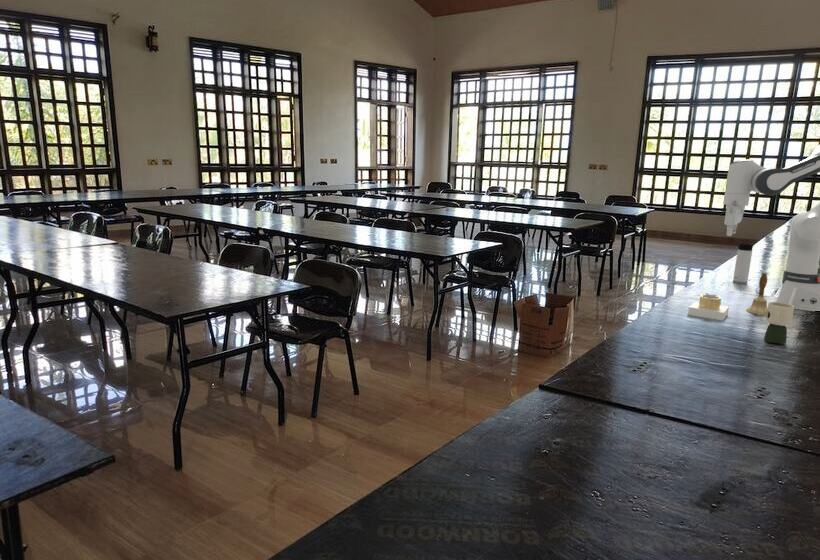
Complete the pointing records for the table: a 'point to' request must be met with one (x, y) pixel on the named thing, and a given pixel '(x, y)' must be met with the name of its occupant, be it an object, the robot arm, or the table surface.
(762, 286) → the hand bell
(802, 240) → the robot arm
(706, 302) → the brass ring
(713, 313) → the block
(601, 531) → the table surface
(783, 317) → the character mug
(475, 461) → the table surface
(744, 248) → the travel mug
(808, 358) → the table surface
